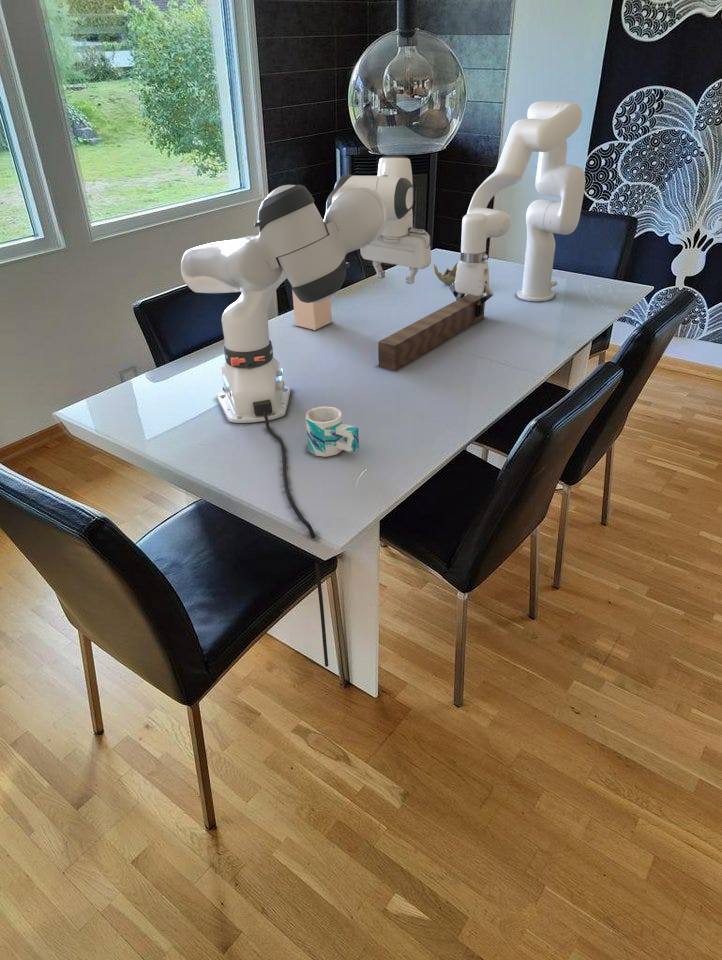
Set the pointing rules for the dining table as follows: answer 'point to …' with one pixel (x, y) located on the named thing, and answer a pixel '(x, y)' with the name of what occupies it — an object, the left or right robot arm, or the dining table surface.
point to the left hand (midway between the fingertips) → (395, 280)
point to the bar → (427, 333)
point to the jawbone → (447, 275)
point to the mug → (329, 432)
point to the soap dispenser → (311, 313)
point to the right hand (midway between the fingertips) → (469, 313)
